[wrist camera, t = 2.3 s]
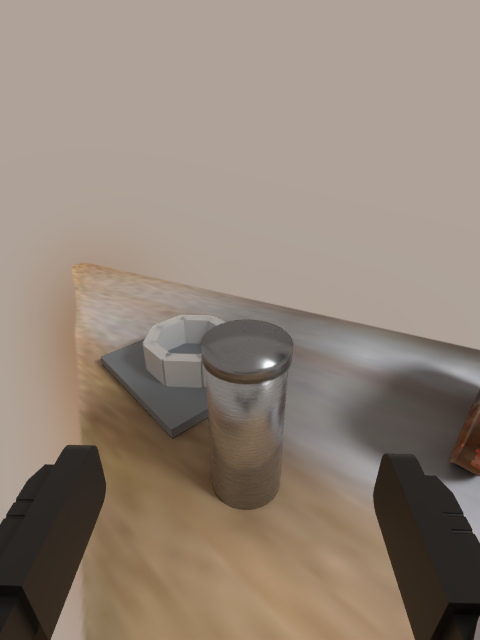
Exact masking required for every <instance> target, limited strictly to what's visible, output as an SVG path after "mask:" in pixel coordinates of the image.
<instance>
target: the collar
mask: <svg viewBox="0 0 480 640" xmlns="http://www.w3.org/2000/svg"><path fill="white" fill-rule="evenodd" d="M222 323H225V321H223V320H221V319H219V318H218V317H216V316H214V317H213V315H182V316H181V315H179V316H176V317H174V318H171V319H168V320H166V321H163V322H160V323H157V324H155V325H154V326H152V327H151V329H150V331H149V332H148V334H147V336H146V338H145V340H143V341H140V342H137V343H135V344H132V345H130V346H127V347H125V348H122V349H120V350H117V351H114V352H112V353H109V354H107V355H104V356H102V357H101V360H102V365H103V366H104V367H105V368H106V369H107V370H108V371H109V372H110V373H111V374H112V375H113V376H114V377H115V378H116V379H117V380H118V381H119V383H120V384H121V385H122V386H123V387H124V388H125V389H126V390H127V391H128V392H129V393H130V394H131V395H132V396H133V397H134V398H135V399H136V401H137V402H138V403H139V404H140V405H141V406H142V407H143V408H144V409H145V410H146V411H147V412H148V413H149V414H150V415H151V416H152V417H153V419H154V420H155V421H156V422H157V423H158V424H159V425H160V426H161V427H162V428H163V429H164V430H165V431H166V432H167V433H168V434H169V435H170V436H171V438H174V437H175V436H177V435H179V434H180V433H182V432H184V431H186V430H187V429H189V428H191V427H192V426H194V425H196V424H198V423H199V422H201V421H203V420H204V419H206V418H208V417H209V416H208V400H207V383H206V369H205V367H204V366H203V363H202V356H201V340H202V337H203V336H204V334H205V333H206V332H207V331H209V330H210V329H211V328H213V327H215V326H217V325H219V324H222Z"/></svg>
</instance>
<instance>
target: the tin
mask: <svg viewBox="0 0 480 640" xmlns="http://www.w3.org/2000/svg"><path fill="white" fill-rule="evenodd" d="M449 461H450V462H451V463H455V464H457V465H459V466H461V467H463V468H465V469H466V470H468V471H470V472H472V473H474V474H476V475H478V476H480V391H479V393H478V395H477V397H476V400H475V402H474V404H473V406H472V408H471V411H470V413H469V415H468V417H467V420H466V422H465V424H464V427H463V429H462V431H461V433H460V435H459V438H458V440H457V442H456V445H455V447H454V449H453V451H452V454H451V457H450V460H449Z"/></svg>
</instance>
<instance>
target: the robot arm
mask: <svg viewBox="0 0 480 640" xmlns="http://www.w3.org/2000/svg"><path fill="white" fill-rule="evenodd" d="M105 492H106V481H105V477H104V473H103V469H102V465H101V461H100V456H99V452H98V449H97V447H96V446H93V445H67V446H66V447H65V448H64V449H63V451H62V452H61V454H60V456H59V457H58V459H57V461H56V463H55V464H54V465H46V464H45V465H44V466H43V467H42V468H41V469H40V470H38V472H36V473H35V474H34V475H33V476H32V477H31V478H30V479H29V480H28V481H27V482H26V484H25V485H24V487H23V489H22V490H21V492H20V494H19V495H18V497H17V498H16V502H15V503H13V505H12V506H11V508H10V510H9V511H8V513H7V514H6V518H5V519H3V521H2V522H1V524H0V640H51V637H52V634H53V632H54V629H55V627H56V624H57V621H58V619H59V616H60V614H61V611H62V608H63V606H64V603H65V600H66V598H67V596H68V593H69V590H70V588H71V585H72V583H73V580H74V578H75V575H76V572H77V570H78V567H79V565H80V562H81V560H82V557H83V554H84V552H85V549H86V547H87V544H88V541H89V539H90V536H91V534H92V531H93V529H94V526H95V523H96V521H97V518H98V516H99V513H100V511H101V508H102V505H103V502H104V498H105ZM373 500H374V508H375V513H376V516H377V519H378V523H379V526H380V529H381V532H382V535H383V539H384V542H385V545H386V548H387V551H388V555H389V558H390V561H391V564H392V567H393V571H394V574H395V577H396V580H397V583H398V587H399V590H400V593H401V596H402V599H403V603H404V606H405V609H406V612H407V615H408V619H409V622H410V625H411V628H412V631H413V635H414V638H415V640H480V543H479V541H478V539H477V537H476V536H475V534H473V532H472V528H471V526H470V524H469V522H468V521H467V519H466V517H464V515H463V511H462V509H461V507H460V506H459V504H458V502H457V500H456V498H455V496H454V494H453V493H452V492H451V491H450V490H449V489H448V488H447V487H446V486H445V485H444V484H443V483H442V482H441V481H440V480H439V479H438V477H437V476H429V475H425V474H424V472H423V470H422V468H421V466H420V464H419V462H418V460H417V458H416V457H415V456H414V455H412V454H384V455H383V456H382V460H381V463H380V467H379V471H378V475H377V479H376V483H375V487H374V493H373Z"/></svg>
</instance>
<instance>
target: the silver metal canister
mask: <svg viewBox="0 0 480 640" xmlns="http://www.w3.org/2000/svg"><path fill="white" fill-rule="evenodd" d="M292 351H293V342H292V339H291V337H290V335H289V334H288V333H287V332H286V331H285V330H283V329H282V328H280V327H278V326H276V325H274V324H271V323H268V322H264V321H258V320H235V321H229V322H225V323H222V324H219V325H217V326H215V327H213V328H211V329H210V330H209V331H207V332H206V333H205V334H204V336H203V337H202V340H201V356H202V363H203V366H204V367H205V369H206V383H207V400H208V416H209V433H210V449H211V466H212V482H213V488H214V491H215V493H216V494H217V496H218V497H219V498H220V499H221V500H222V501H223V502H224V503H225V504H227V505H229V506H231V507H233V508H237V509H242V510H251V509H256V508H260V507H262V506H264V505H266V504H267V503H269V502H270V501H271V500H272V499H273V498H274V497H275V495H276V494H277V492H278V489H279V485H280V473H281V459H282V444H283V430H284V415H285V401H286V387H287V372H288V368H289V367H290V365H291V362H292Z"/></svg>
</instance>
